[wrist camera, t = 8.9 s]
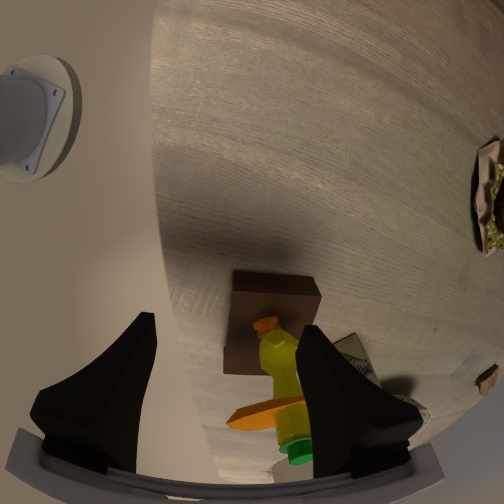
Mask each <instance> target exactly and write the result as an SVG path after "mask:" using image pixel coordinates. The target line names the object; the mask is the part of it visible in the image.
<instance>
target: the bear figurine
mask: <svg viewBox="0 0 504 504" xmlns="http://www.w3.org/2000/svg"><path fill="white" fill-rule="evenodd" d="M478 153H479V186H478V189H477V192H476V195H475V199H476V202H475V203H474V202H473V203H474V209H475V211H476V212H477V213H478V220H477V221H478V223H479V226H480V231H481V237H482V244H483V253H484V255H485V256H486V257H488V256H490V255H491V254H492V253H493V252H495V251H496V250H500V251H502V252H503V251H504V139H501V140H499V141H495V142H493V143H491V144H489V145H488V146H486V147H484V148H482V149H480V150H478ZM475 199H474V201H475Z"/></svg>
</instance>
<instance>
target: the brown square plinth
mask: <svg viewBox="0 0 504 504" xmlns="http://www.w3.org/2000/svg"><path fill="white" fill-rule="evenodd" d="M321 298H322V296H321V294H320V292H319V289H318V287H317V285H316V283H315V281H314V279H313V277H305V276H292V275H279V274H267V273H255V272H244V271H233V274H232V298H231V306H230V314H229V323H228V331H227V340H226V347H224V355H223V373H224V374H236V375H267V376H271V375H269V374H268V373H267V372H265V371H264V370H263V369H261V364H260V356H259V349H260V342H261V341H262V339H259V337H258V336H257V332H258V331H257V330H255V329H254V327H253V323H255V322H256V321H258V320H259V319H262V318H267V317H274V316H277V319H278V323H277V324H280V326H281V329H282V330H284V331H285V332H287V333H289V334H290V335H292V336H293V337H294V338H296V339H297V340H298V341H299V340H300V338H301V335H302V332H303V329H304V326H305V325H312V324H313V321H314V319H315V316H316V313H317V310H318V307H319V304H320V301H321Z"/></svg>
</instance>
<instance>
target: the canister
mask: <svg viewBox="0 0 504 504" xmlns="http://www.w3.org/2000/svg"><path fill="white" fill-rule="evenodd" d="M273 477H274V483H284V482H294V481H302V480H310V479H313V460H311V461H309V462H307V463H304V464H300V465H289V460H288V459H285V460H283V461H280V462H278V463H277V464H275V465H274V466H273ZM298 497H301V496H298Z"/></svg>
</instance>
